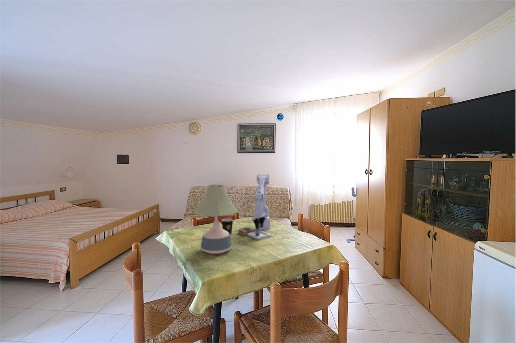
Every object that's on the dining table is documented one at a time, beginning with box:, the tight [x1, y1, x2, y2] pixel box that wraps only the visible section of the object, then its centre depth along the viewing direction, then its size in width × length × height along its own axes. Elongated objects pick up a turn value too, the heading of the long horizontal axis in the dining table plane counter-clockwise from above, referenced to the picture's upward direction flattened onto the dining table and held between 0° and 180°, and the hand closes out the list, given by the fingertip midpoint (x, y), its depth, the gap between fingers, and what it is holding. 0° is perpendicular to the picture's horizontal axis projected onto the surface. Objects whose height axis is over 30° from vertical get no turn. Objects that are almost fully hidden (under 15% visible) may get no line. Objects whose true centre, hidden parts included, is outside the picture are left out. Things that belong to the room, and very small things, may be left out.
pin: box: [255, 222, 261, 236], centre depth 180 cm, size 4×4×9 cm
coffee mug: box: [219, 218, 234, 234], centre depth 188 cm, size 12×9×10 cm
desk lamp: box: [194, 182, 239, 255], centre depth 152 cm, size 26×28×42 cm
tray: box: [247, 230, 272, 241], centre depth 180 cm, size 12×12×2 cm
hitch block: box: [237, 226, 256, 237], centre depth 187 cm, size 10×8×3 cm
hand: (259, 227), depth 180 cm, fingers open, 4 cm apart
